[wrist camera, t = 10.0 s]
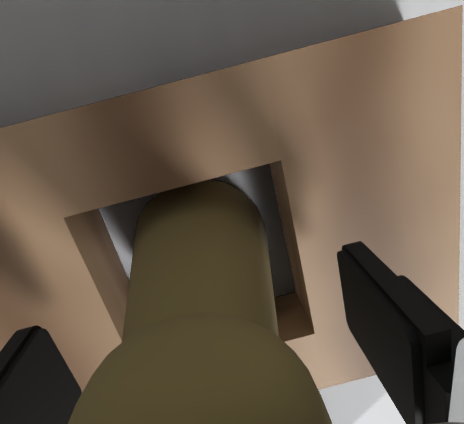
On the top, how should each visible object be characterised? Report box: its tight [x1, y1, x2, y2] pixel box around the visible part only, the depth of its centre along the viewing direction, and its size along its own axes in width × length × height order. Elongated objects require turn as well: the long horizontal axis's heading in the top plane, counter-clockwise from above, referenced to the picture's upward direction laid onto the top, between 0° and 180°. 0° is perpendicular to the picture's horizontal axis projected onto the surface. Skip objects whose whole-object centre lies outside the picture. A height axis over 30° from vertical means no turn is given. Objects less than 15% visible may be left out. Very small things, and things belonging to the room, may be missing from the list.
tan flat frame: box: [0, 5, 462, 392], centre depth 14 cm, size 20×14×3 cm
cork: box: [68, 180, 332, 424], centre depth 10 cm, size 6×6×11 cm
